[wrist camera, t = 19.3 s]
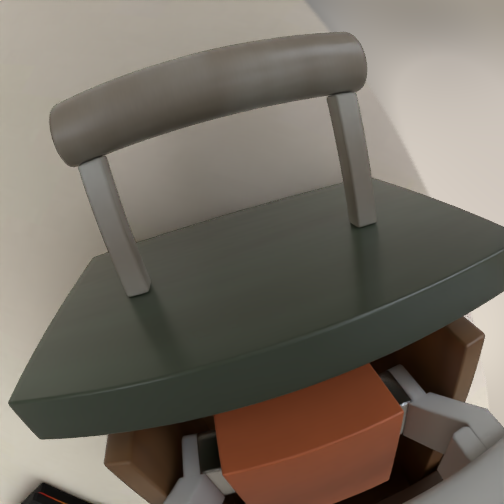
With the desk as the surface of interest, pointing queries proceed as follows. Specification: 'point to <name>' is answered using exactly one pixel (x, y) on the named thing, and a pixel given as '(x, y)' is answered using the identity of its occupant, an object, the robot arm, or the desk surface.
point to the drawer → (251, 275)
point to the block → (312, 441)
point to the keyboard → (51, 496)
